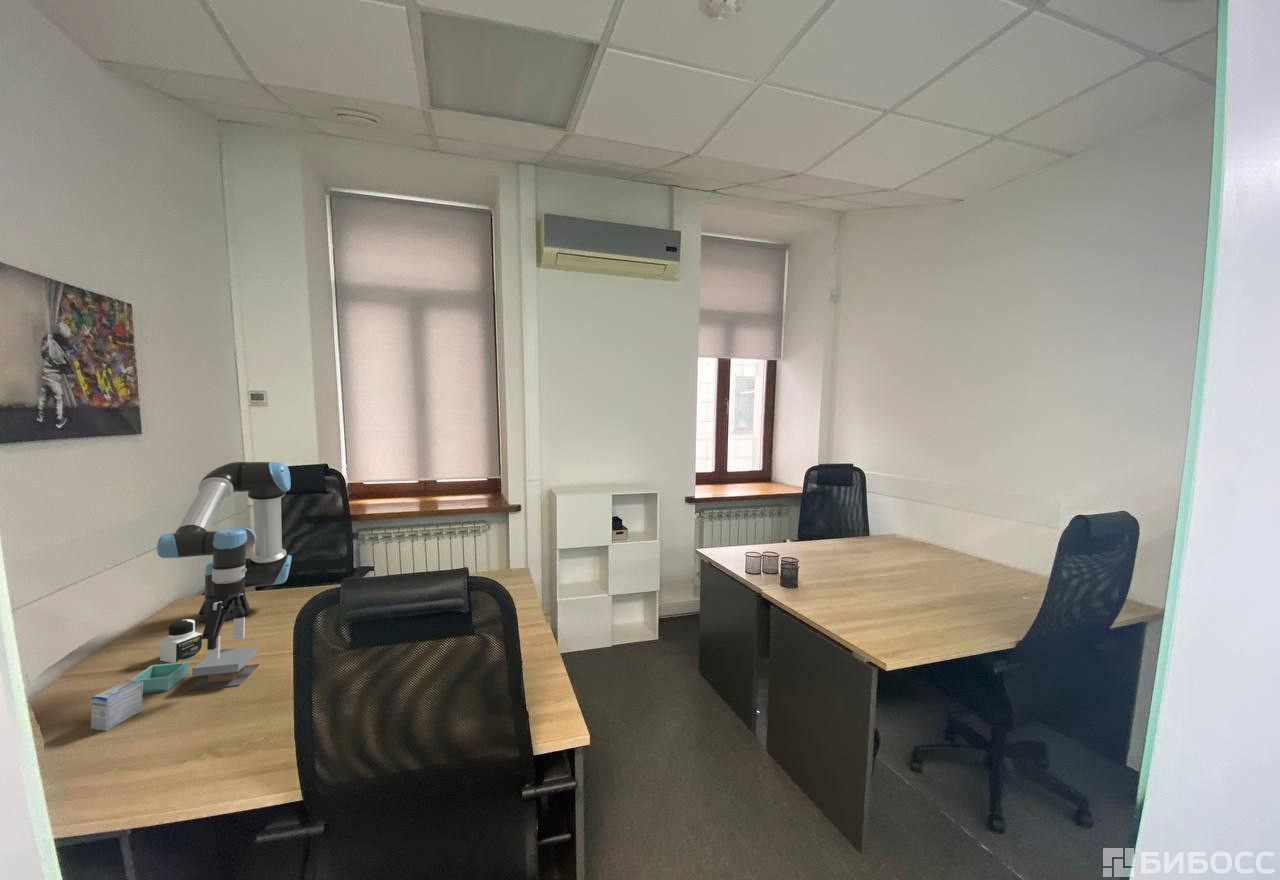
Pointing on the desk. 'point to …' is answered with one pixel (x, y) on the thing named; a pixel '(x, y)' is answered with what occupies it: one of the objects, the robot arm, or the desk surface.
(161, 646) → the medicine bottle
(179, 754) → the desk surface
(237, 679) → the stand
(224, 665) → the cover plate
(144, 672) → the dish
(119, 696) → the medicine box
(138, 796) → the desk surface
